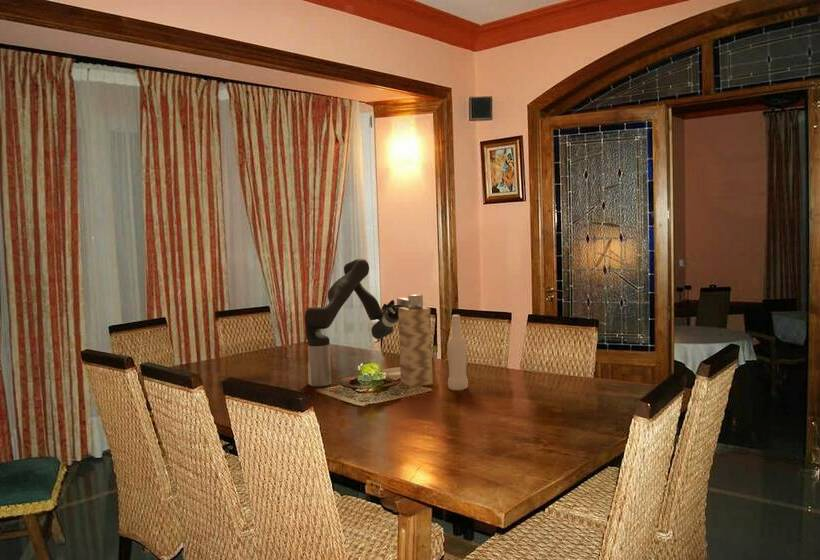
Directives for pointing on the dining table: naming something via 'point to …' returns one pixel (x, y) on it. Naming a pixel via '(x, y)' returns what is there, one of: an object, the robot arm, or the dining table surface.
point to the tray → (393, 372)
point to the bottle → (457, 357)
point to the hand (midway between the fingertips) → (402, 300)
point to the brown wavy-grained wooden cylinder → (415, 346)
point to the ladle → (411, 302)
